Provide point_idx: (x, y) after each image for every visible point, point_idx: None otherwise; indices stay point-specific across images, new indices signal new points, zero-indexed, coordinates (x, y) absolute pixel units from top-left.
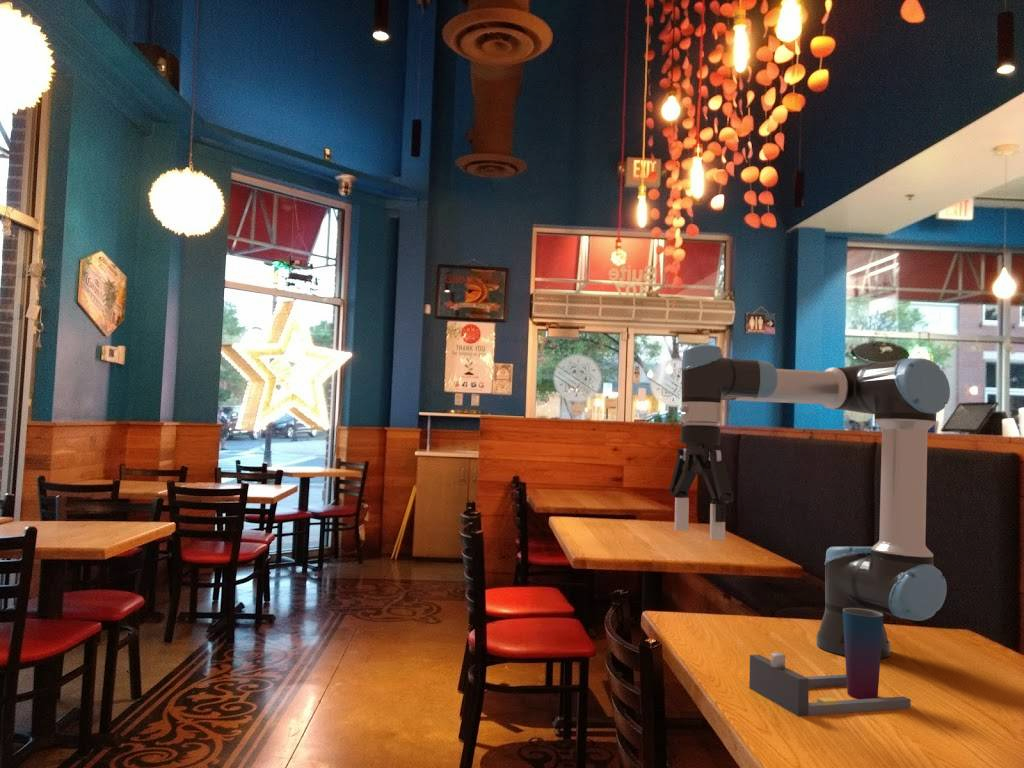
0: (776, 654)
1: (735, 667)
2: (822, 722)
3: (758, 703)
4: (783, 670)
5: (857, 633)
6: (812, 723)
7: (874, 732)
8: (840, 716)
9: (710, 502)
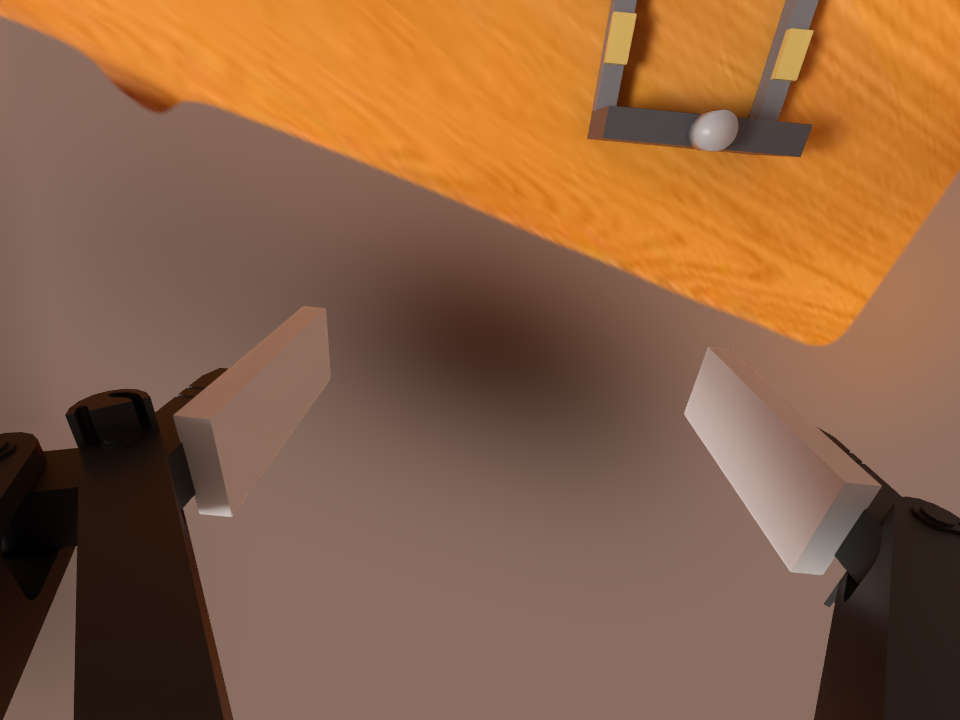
0: (716, 134)
1: (447, 57)
2: None
3: (666, 187)
4: (737, 143)
5: None
6: None
7: (903, 47)
8: None
9: (830, 604)
